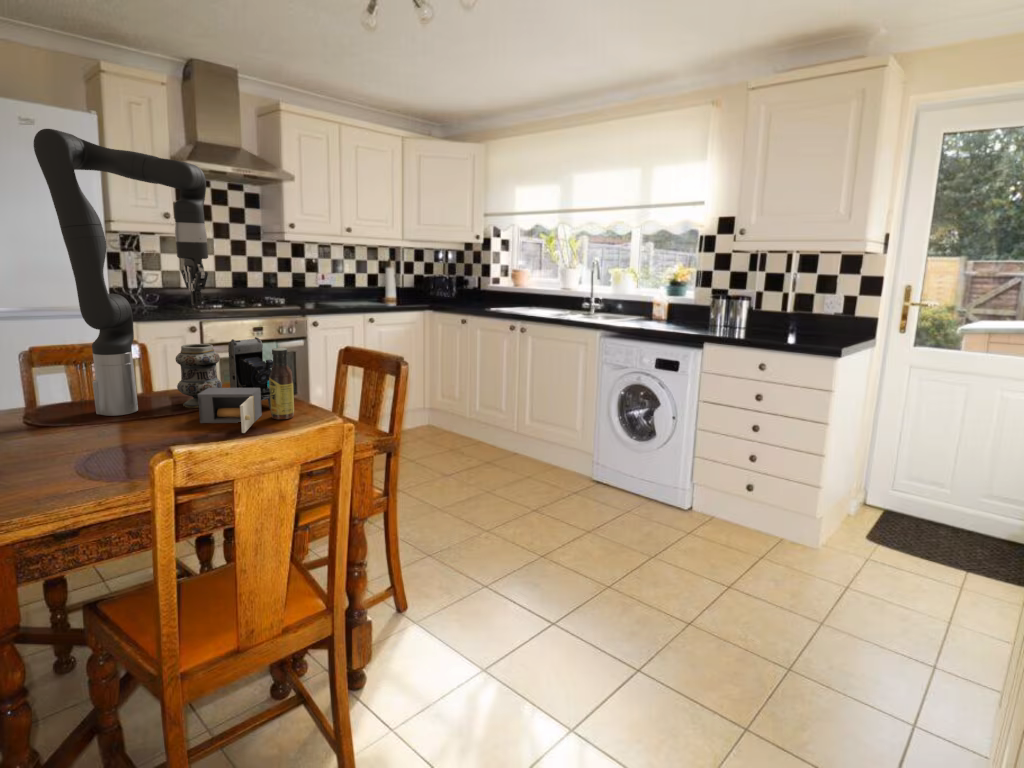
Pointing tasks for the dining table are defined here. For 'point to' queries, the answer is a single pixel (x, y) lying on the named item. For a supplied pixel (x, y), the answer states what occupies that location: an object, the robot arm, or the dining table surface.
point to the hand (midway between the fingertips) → (196, 305)
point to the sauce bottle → (281, 386)
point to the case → (226, 404)
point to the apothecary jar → (197, 371)
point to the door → (247, 414)
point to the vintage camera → (249, 366)
